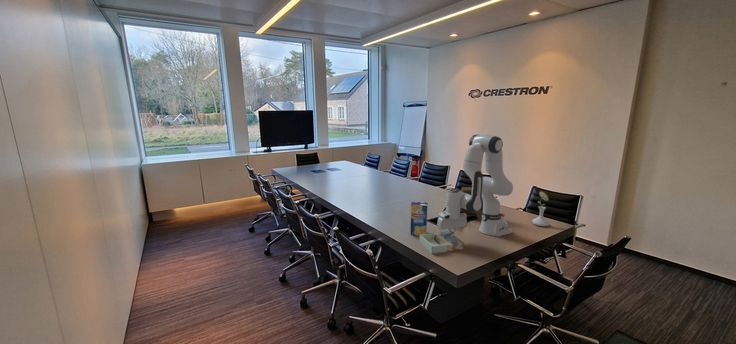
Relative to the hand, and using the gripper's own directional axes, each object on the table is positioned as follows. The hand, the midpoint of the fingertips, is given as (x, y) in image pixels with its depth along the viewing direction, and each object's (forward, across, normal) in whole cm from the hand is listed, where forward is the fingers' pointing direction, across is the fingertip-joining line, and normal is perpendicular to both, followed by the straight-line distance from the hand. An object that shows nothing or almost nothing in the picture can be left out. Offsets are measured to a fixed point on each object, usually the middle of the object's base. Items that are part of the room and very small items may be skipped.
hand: (451, 233), depth 199 cm
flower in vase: (+5, -80, -8) cm, 80 cm away
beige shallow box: (+5, +4, +4) cm, 8 cm away
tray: (+5, +16, +4) cm, 17 cm away
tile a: (+1, +4, 0) cm, 4 cm away
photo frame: (+5, -41, -34) cm, 53 cm away
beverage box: (+6, +15, -18) cm, 24 cm away
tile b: (+1, +4, +8) cm, 9 cm away
